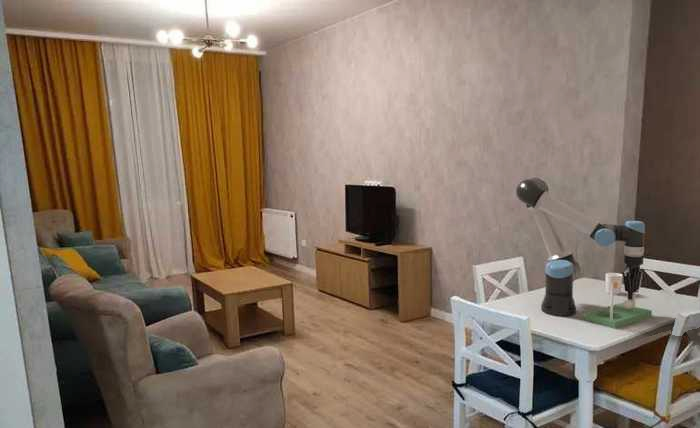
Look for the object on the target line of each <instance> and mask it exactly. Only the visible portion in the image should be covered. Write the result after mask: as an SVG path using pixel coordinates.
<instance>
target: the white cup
mask: <svg viewBox="0 0 700 428" xmlns="http://www.w3.org/2000/svg"><path fill="white" fill-rule="evenodd" d="M623 279H624V277H623V274H622V273H617V272H606V273H605V292H606V293H607V294H609V295H611V283H616V282H617V288H614V295H615V296H618V294H619V295H621V294H622V286H623ZM614 295H613V296H614Z"/></svg>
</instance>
